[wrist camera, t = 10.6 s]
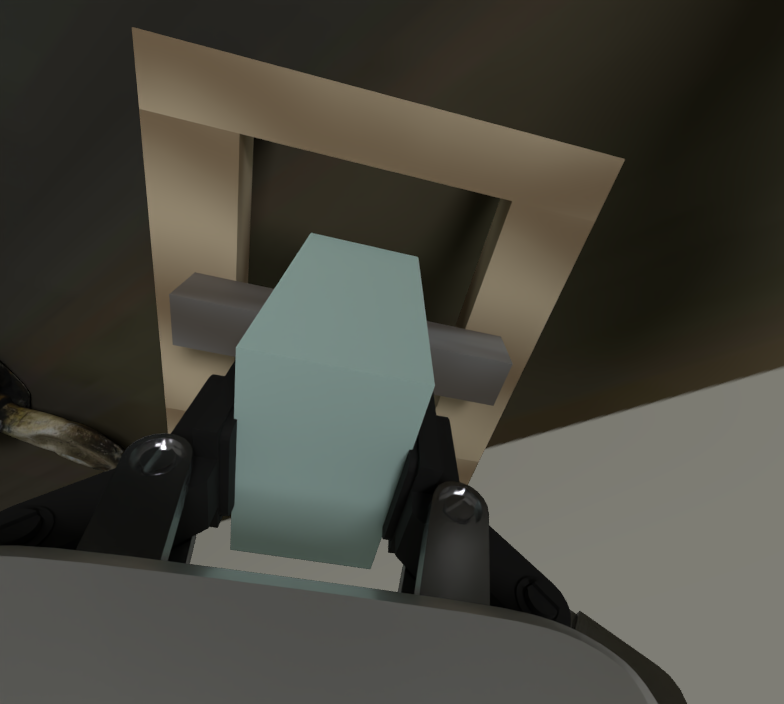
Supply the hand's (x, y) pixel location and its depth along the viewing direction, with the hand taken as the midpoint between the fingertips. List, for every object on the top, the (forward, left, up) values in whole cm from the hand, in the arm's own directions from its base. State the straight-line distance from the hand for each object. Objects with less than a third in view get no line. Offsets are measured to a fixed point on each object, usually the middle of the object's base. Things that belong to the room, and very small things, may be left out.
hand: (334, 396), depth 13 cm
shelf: (0, 0, -16) cm, 16 cm away
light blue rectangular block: (0, 0, -5) cm, 5 cm away
